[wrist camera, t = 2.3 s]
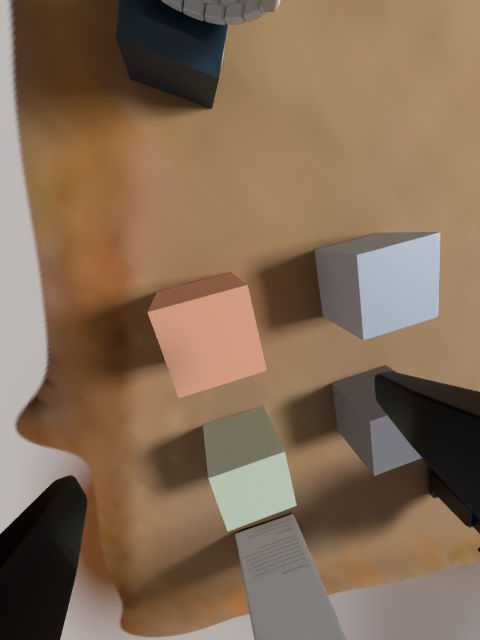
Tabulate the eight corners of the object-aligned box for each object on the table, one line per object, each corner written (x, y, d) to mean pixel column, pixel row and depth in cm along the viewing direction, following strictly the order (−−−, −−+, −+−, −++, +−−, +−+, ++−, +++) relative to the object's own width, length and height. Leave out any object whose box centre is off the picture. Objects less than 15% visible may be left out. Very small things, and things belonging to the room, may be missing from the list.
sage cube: (262, 405, 22) (284, 451, 17) (273, 451, 24) (296, 505, 19) (202, 424, 21) (208, 478, 17) (218, 470, 23) (227, 531, 18)
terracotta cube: (230, 272, 18) (247, 284, 13) (246, 338, 20) (266, 370, 15) (156, 291, 18) (147, 312, 13) (179, 358, 19) (179, 398, 15)
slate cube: (378, 232, 19) (440, 232, 15) (381, 298, 21) (438, 316, 16) (313, 250, 19) (356, 255, 14) (322, 316, 20) (363, 340, 16)
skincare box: (241, 559, 27) (283, 800, 15) (232, 529, 25) (273, 770, 14) (299, 539, 28) (381, 753, 16) (295, 508, 26) (381, 719, 15)
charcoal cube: (384, 364, 23) (436, 398, 18) (387, 411, 25) (434, 453, 20) (331, 382, 23) (369, 421, 18) (337, 429, 24) (374, 476, 20)
